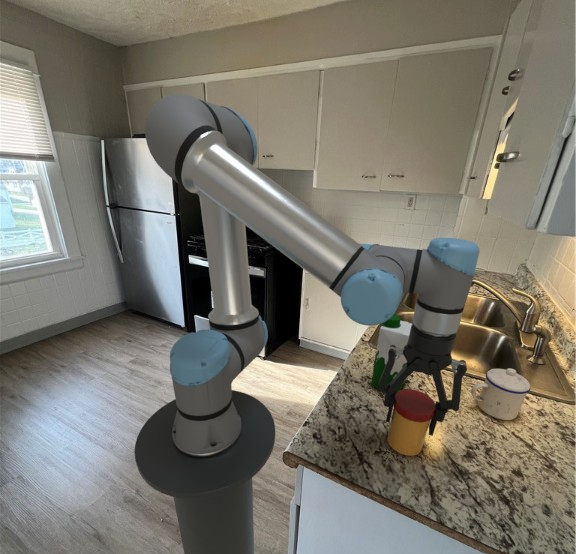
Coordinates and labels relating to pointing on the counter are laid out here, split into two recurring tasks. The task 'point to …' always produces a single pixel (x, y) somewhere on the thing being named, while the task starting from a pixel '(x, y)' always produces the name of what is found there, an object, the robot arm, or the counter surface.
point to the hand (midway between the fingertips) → (409, 424)
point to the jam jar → (406, 434)
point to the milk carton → (389, 335)
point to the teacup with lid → (502, 393)
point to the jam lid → (414, 405)
